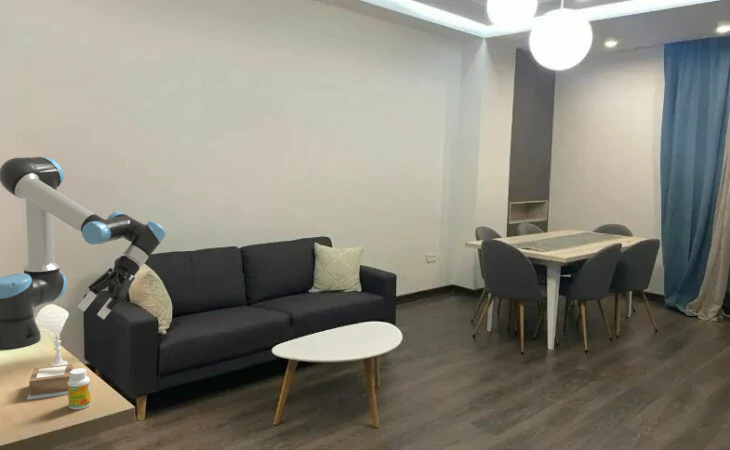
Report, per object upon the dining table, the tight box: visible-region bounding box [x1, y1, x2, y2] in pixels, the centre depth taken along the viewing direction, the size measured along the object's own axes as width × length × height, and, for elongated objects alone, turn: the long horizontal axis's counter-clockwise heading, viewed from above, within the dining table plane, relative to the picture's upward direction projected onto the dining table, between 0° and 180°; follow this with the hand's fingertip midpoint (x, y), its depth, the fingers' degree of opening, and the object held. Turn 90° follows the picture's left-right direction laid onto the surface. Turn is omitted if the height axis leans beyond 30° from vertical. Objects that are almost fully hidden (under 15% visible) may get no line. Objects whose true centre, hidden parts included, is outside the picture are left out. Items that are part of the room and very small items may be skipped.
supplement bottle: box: [67, 367, 92, 410], centre depth 156 cm, size 5×5×10 cm
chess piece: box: [49, 334, 69, 367], centre depth 184 cm, size 5×5×10 cm
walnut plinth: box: [28, 363, 74, 396], centre depth 167 cm, size 10×10×5 cm
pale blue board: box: [27, 368, 75, 401], centre depth 170 cm, size 18×11×1 cm, turn 23°
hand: (90, 313), depth 191 cm, fingers open, 13 cm apart
